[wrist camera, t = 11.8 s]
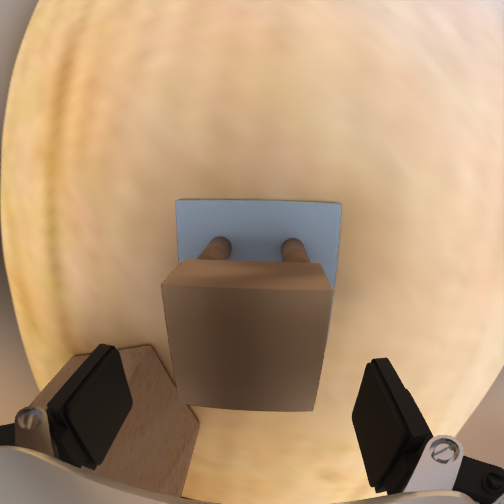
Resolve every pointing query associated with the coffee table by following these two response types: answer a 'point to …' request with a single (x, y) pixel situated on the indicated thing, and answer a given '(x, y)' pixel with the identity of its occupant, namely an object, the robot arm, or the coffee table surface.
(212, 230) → the mat
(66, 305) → the coffee table surface
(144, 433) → the wooden block
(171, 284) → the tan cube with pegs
